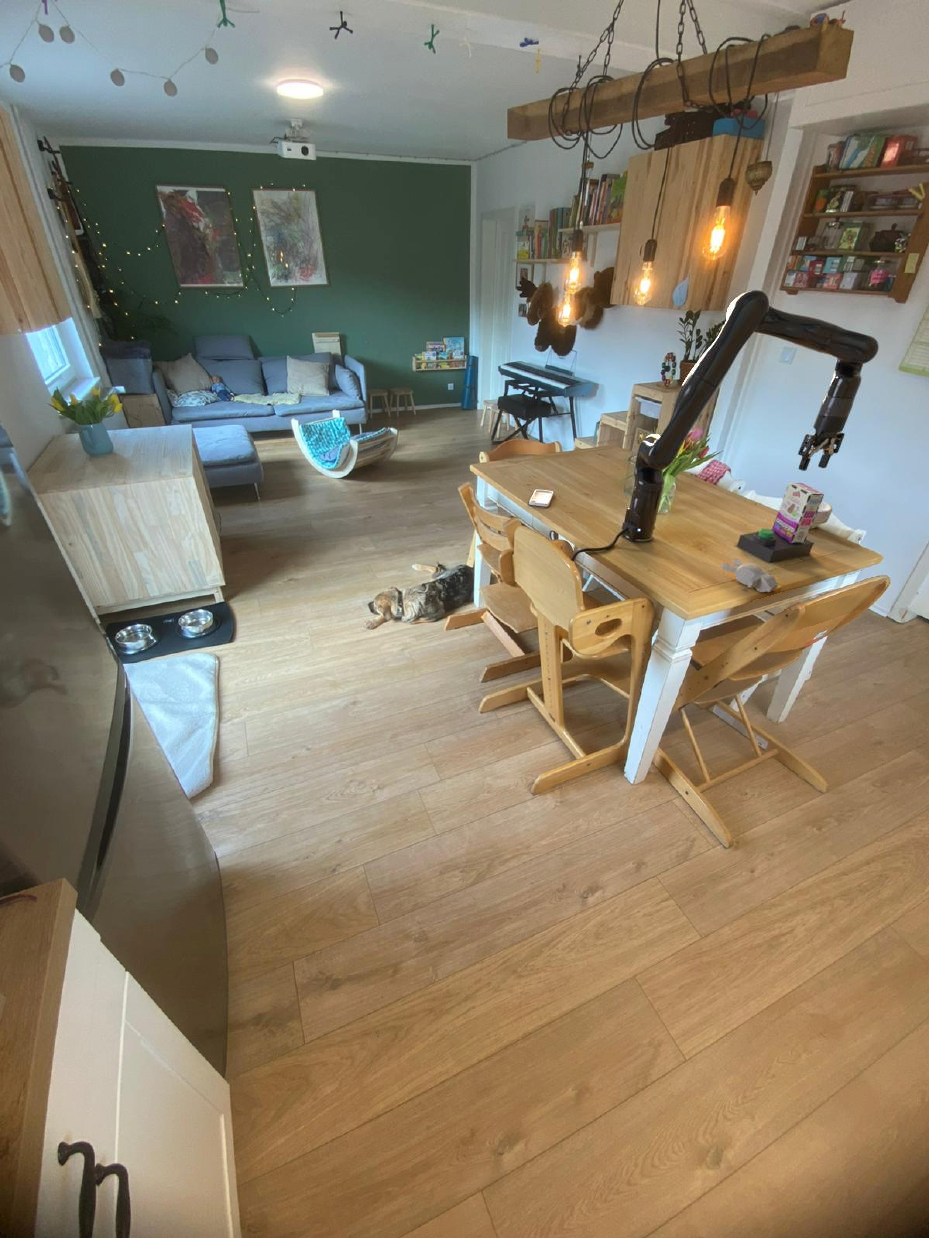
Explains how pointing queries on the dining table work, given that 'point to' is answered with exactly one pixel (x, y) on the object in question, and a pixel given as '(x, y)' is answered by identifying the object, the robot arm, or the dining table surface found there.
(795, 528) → the candy bar box
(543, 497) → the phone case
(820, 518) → the paper bowls
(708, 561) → the dining table surface
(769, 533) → the button
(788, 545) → the black button box
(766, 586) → the bunny figurine
